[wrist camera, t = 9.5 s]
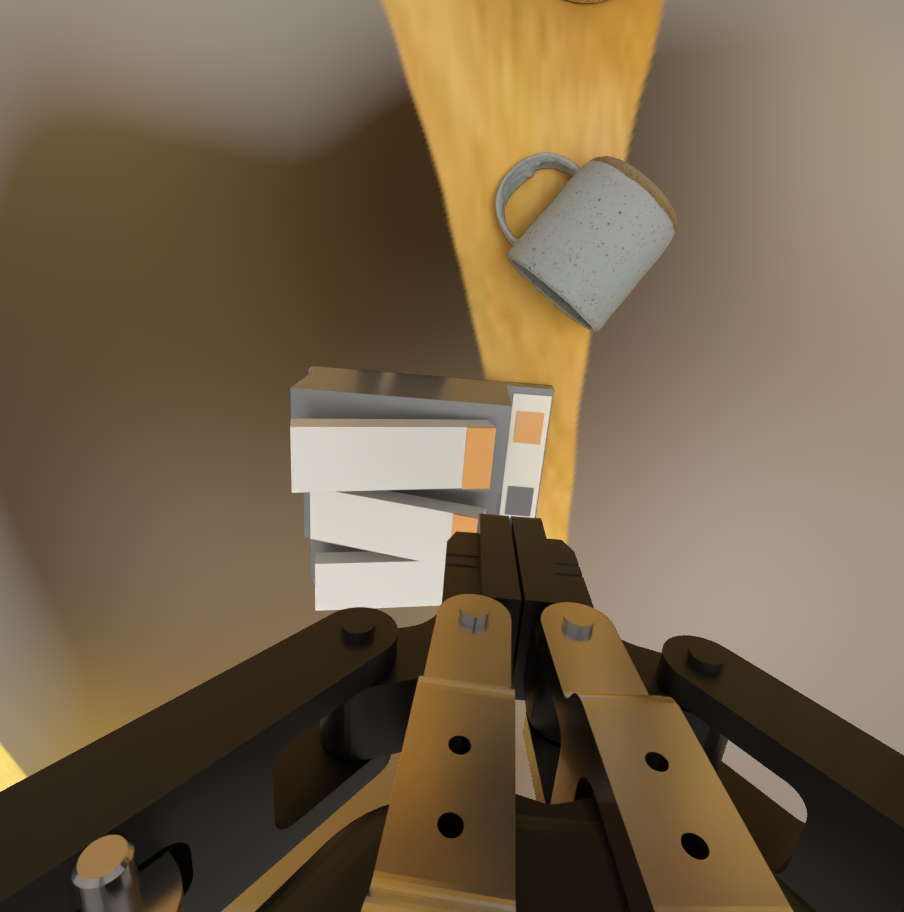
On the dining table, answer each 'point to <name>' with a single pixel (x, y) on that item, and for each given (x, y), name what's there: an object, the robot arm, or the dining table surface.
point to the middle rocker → (390, 522)
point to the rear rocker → (375, 581)
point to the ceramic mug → (589, 234)
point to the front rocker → (390, 454)
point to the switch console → (432, 397)
